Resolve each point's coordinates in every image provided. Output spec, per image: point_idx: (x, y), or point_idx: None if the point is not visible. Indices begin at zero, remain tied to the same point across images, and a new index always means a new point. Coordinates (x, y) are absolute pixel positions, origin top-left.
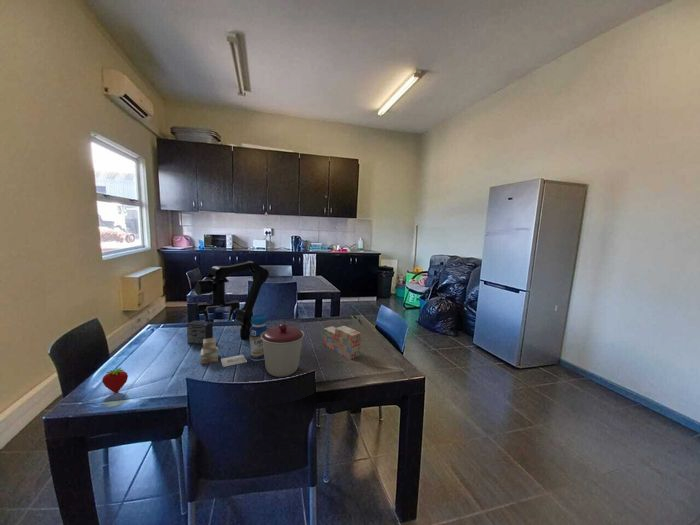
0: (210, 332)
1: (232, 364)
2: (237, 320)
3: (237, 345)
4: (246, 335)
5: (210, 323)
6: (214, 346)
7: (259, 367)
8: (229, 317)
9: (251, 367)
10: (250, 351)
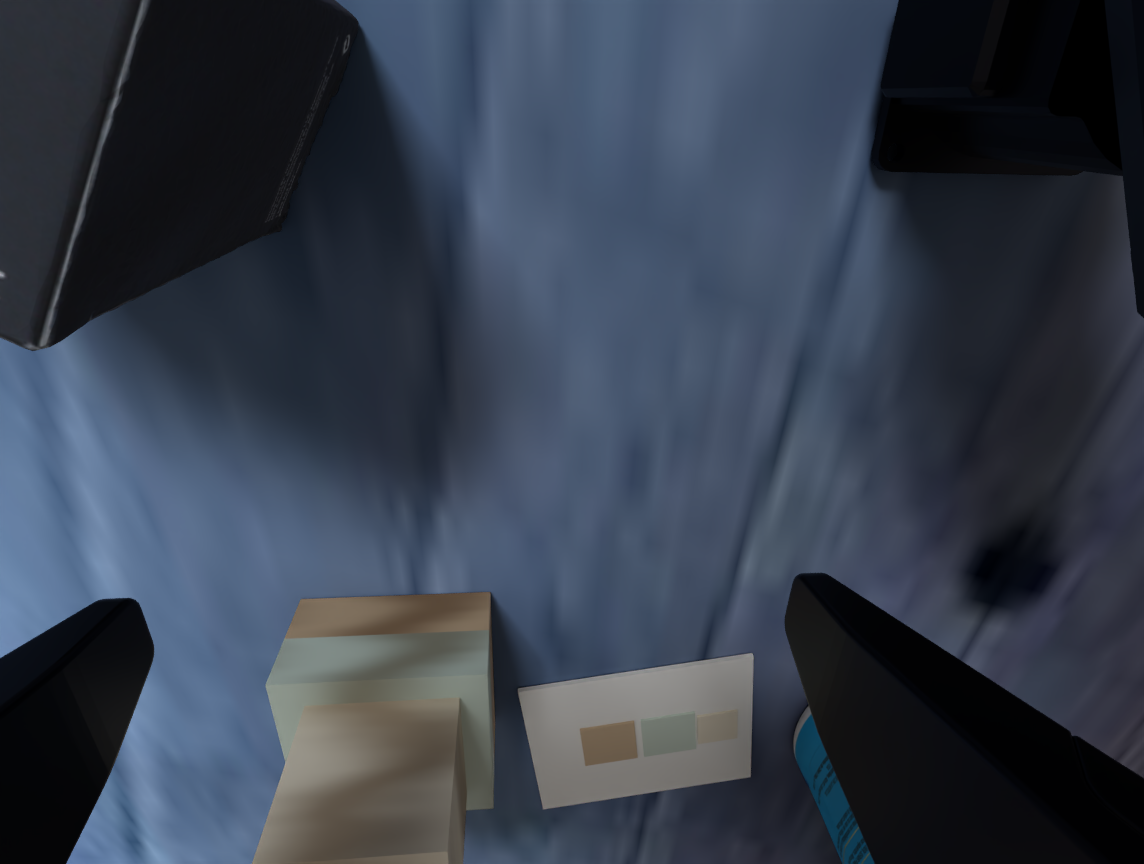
0: (260, 111)
1: (623, 795)
2: (1138, 45)
3: (749, 391)
4: (994, 159)
5: (133, 88)
6: None
7: (815, 848)
8: (873, 815)
9: (759, 840)
10: (827, 827)
